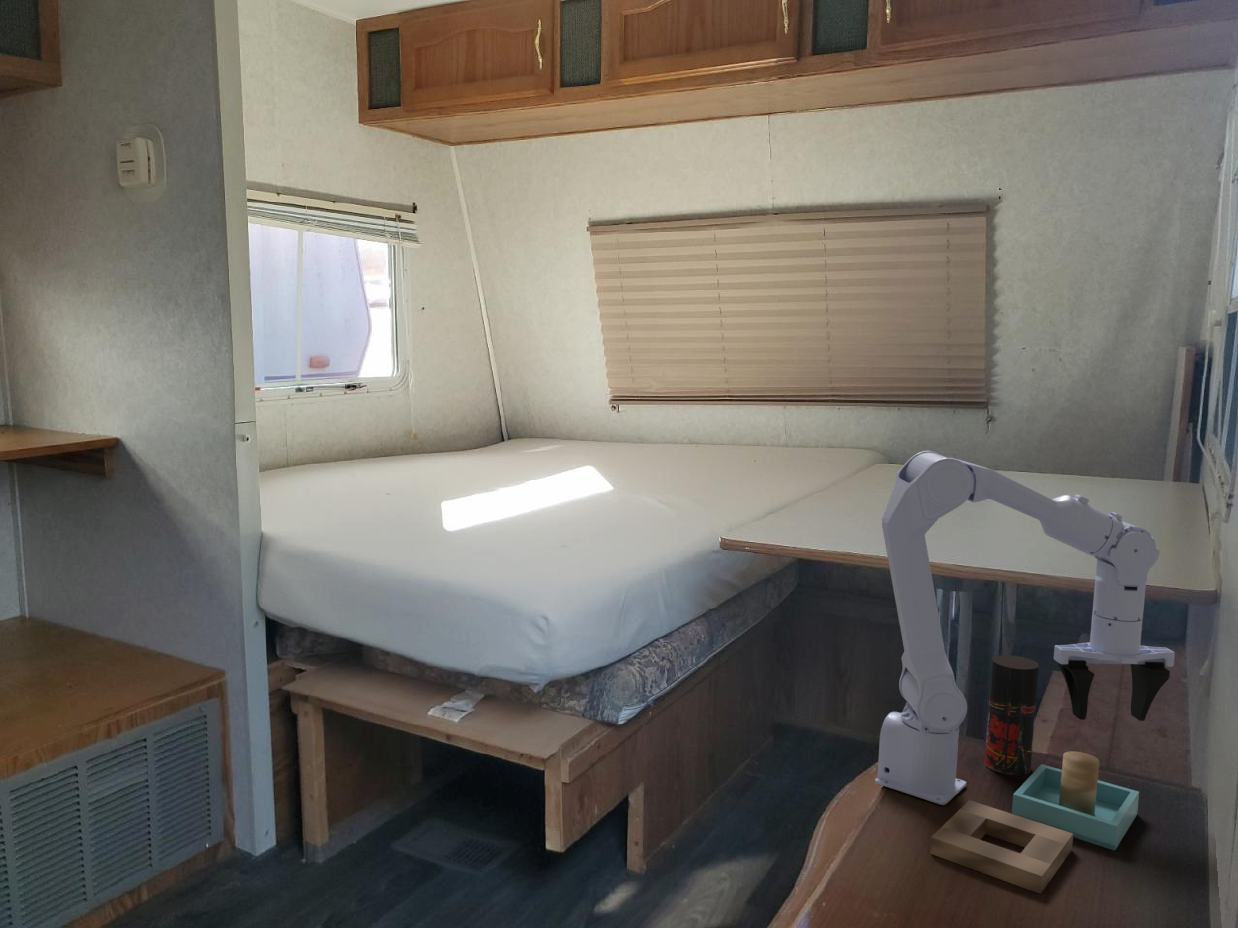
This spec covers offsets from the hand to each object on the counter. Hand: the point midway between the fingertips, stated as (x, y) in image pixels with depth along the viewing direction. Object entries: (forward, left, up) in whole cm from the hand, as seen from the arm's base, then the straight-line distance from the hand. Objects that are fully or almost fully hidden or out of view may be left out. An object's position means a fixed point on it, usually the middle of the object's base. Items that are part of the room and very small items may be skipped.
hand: (1108, 717), depth 122 cm
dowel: (-1, -9, -10) cm, 13 cm away
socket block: (-5, -24, -10) cm, 27 cm away
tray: (-1, -9, -10) cm, 14 cm away
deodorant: (-12, 0, -11) cm, 16 cm away
